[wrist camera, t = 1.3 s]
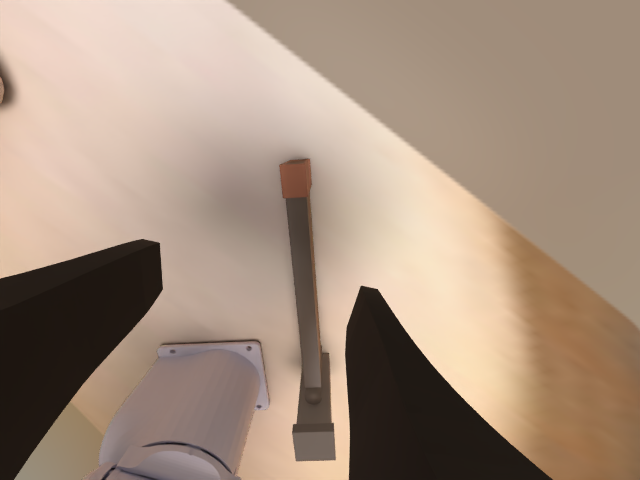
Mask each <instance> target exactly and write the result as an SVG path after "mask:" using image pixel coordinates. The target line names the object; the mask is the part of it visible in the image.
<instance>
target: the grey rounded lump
mask: <svg viewBox="0 0 640 480" xmlns="http://www.w3.org/2000/svg"><path fill="white" fill-rule="evenodd" d="M3 94H4V85H3V81H2V79H1V77H0V103H1V102H2V100H3Z"/></svg>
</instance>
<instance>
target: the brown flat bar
mask: <svg viewBox="0 0 640 480" xmlns="http://www.w3.org/2000/svg"><path fill="white" fill-rule="evenodd" d="M280 175H281V184H282V194H283V198H286V205H287V215H288V225H289V235H290V245H291V255H292V265H293V275H294V285H295V295H296V304H297V314H298V324H299V334H300V344H301V354H302V364H303V374H304V384H305V388H306V394H305V400H306V402H307V403H309V404H312V405H315V404H318V403H320V402H321V399H322V346H321V345H320V330H319V316H318V303H317V289H316V275H315V261H314V247H313V233H312V220H311V206H310V192H309V191H310V188H311V185H312V182H311V168H310V159H301V160H290V161H287V162H285V163H283V164H281V165H280Z"/></svg>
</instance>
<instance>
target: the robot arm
mask: <svg viewBox="0 0 640 480" xmlns="http://www.w3.org/2000/svg"><path fill="white" fill-rule="evenodd" d="M162 290H163V285H162V270H161V255H160V243H158V242H154V241H149V240H144V239H140V240H136V241H132V242H128V243H124V244H121V245H117V246H114V247H111V248H107V249H104V250H101V251H98V252H94V253H91V254H88V255H84V256H81V257H78V258H75V259H71V260H68V261H64V262H61V263H57V264H54V265H50V266H46V267H43V268H39V269H35V270H32V271H28V272H25V273H21V274H17V275H13V276H9V277H5V278H1V279H0V480H14V479H15V477H16V476H17V474H18V473H19V471H20V470H21V468H22V467H23V465H24V464H25V463H26V461H27V460H28V458H29V456H30V455H31V454H32V452H33V451H34V449H35V448H36V447H37V445H38V444H39V443H40V441H41V440H42V438H43V437H44V436H45V434H46V433H47V432H48V430H49V429H50V427H51V426H52V425H53V423H54V422H55V420H56V419H57V418H58V416H59V415H60V414H61V412H62V411H63V410H64V408H65V407H66V406H67V404H68V403H69V402H70V401H71V399H72V398H73V397H74V395H75V394H76V393H77V391H78V390H79V389H80V387H81V386H82V385H83V384H84V382H85V381H86V380H87V379H88V378H89V376H90V375H91V374H92V373H93V372H94V371H95V369H96V368H97V367H98V366H99V365H100V364H101V363H102V362H103V361H104V360H105V358H106V357H107V356H108V355H109V354H110V353H111V352H112V351H113V350H114V349H115V348H116V346H117V345H118V344H119V343H120V342H121V341H122V340H123V339H124V338H125V337H126V336H127V334H128V333H129V332H130V331H131V330H132V329H133V328H134V327H135V326H136V325H137V323H138V322H139V321H140V320H141V319H142V318H143V317H144V316H145V314H146V313H147V312H148V310H149V309H150V308H151V306H152V305H153V303H154V302H155V300H156V299H157V297H158V296H159V294H160V293H161V291H162ZM247 346H250V347H251V348H248V347H247ZM174 350H175V351H174ZM157 354H158V357H159V358H158V359H157V360H156V362H155V363H154V364H153V365H152V367H151V368H150V369H149V371H148V372H147V373H146V374H145V376H144V377H143V378H142V380H141V381H140V382H139V383H138V385H137V386H136V387H135V389H134V390H133V391H132V392H131V394H130V395H129V396H128V398H127V399H126V400H125V402H124V403H123V404H122V405H121V407H120V408H119V409H118V411H117V412H116V414H115V415H114V417H113V418H112V420H111V422H110V424H109V426H108V428H107V430H106V433H105V435H104V438H103V441H102V444H101V448H100V453H99V467H98V468H97V469H95V470H93V471H91V472H90V473H88V474H87V475H86V476H85V477H84V478H83V479H82V480H241V478H240V477H238V476H237V474H238V470H239V466H240V462H241V458H242V454H243V451H244V447H245V443H246V439H247V435H248V432H249V428H250V424H251V420H252V416H253V413H254V410H266V409H268V408H269V405H270V402H269V396H268V389H267V383H266V377H265V371H264V364H263V358H262V352H261V345H260V343H259V342H257V341H248V342H224V343H201V344H177V345H161V346H159V348H158V349H157ZM345 359H346V375H347V390H348V404H349V419H350V460H349V480H553V479H551V478H550V477H549V476H548V475H546V474H545V473H544V472H543V471H542V470H540V469H539V468H538V467H537V466H536V465H535V464H533V463H532V462H531V461H530V460H529V459H528V458H526V457H525V456H524V455H523V454H522V453H521V452H519V451H518V450H517V449H516V448H515V447H514V446H513V445H511V444H510V443H509V442H508V441H507V440H506V439H505V438H504V437H502V436H501V435H500V434H499V433H498V432H497V431H496V430H495V429H494V428H493V427H492V426H490V425H489V424H488V423H487V422H486V421H485V420H484V419H483V418H482V417H481V416H480V415H479V414H478V413H477V412H476V411H475V410H474V409H473V408H472V407H471V406H470V405H469V404H468V403H467V402H466V401H465V400H464V399H463V398H462V397H461V396H460V395H459V394H458V393H457V392H456V391H455V390H454V389H453V388H452V387H451V385H450V384H449V383H448V382H447V381H446V380H445V379H444V378H443V377H442V376H441V374H440V373H439V372H438V371H437V370H436V369H435V368H434V366H433V365H432V364H431V363H430V362H429V361H428V359H427V358H426V357H425V356H424V354H423V353H422V352H421V350H420V349H419V348H418V347H417V345H416V344H415V343H414V341H413V340H412V339H411V337H410V336H409V335H408V333H407V332H406V331H405V329H404V328H403V326H402V325H401V324H400V322H399V321H398V319H397V318H396V316H395V315H394V313H393V312H392V310H391V309H390V307H389V306H388V304H387V303H386V301H385V300H384V298H383V296H382V295H381V293H380V292H379V291H378V289H374V288H369V287H365V286H361V287H360V290H359V293H358V296H357V299H356V302H355V305H354V308H353V311H352V314H351V316H350V319H349V322H348V325H347V331H346V349H345Z"/></svg>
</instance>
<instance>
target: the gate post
mask: <svg viewBox="0 0 640 480" xmlns="http://www.w3.org/2000/svg"><path fill="white" fill-rule="evenodd" d="M305 394H306V388H305V384H304V374H303V364H302V373H301V383H300V394H299V404H298V414H297V424H293V431H292V434H293V442H294V450H295V458H296V461H324V460H336V457H335V439H334V423H332V419H331V385H330V363H329V353H323V354H322V399H321V402H320V403H318V404H315V405H312V404H309V403H307V402H306V400H305Z"/></svg>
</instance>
